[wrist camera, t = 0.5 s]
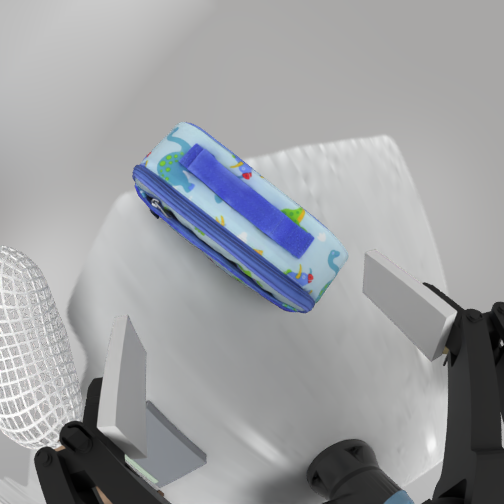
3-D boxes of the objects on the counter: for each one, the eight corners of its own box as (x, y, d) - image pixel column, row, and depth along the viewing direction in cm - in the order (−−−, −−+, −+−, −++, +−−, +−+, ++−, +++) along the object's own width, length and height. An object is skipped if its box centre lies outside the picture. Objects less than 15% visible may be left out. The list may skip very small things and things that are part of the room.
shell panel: (206, 453, 44) (206, 463, 40) (161, 477, 42) (159, 488, 38) (149, 399, 43) (145, 408, 39) (106, 427, 41) (100, 437, 37)
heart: (123, 400, 42) (80, 471, 20) (57, 407, 39) (-2, 462, 17) (78, 243, 43) (-1, 223, 21) (14, 265, 40) (-67, 258, 18)
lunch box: (146, 212, 45) (105, 168, 24) (187, 163, 47) (178, 92, 26) (271, 310, 47) (319, 336, 26) (309, 258, 49) (377, 248, 28)
